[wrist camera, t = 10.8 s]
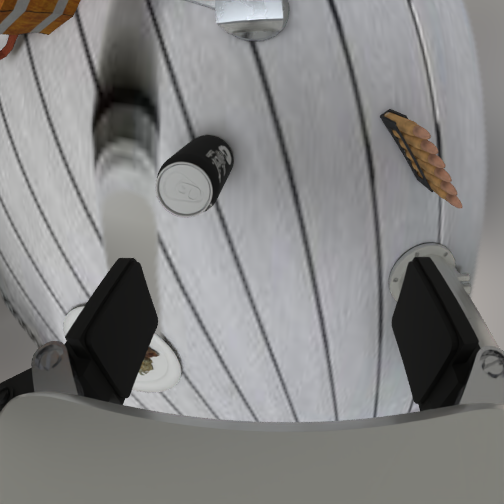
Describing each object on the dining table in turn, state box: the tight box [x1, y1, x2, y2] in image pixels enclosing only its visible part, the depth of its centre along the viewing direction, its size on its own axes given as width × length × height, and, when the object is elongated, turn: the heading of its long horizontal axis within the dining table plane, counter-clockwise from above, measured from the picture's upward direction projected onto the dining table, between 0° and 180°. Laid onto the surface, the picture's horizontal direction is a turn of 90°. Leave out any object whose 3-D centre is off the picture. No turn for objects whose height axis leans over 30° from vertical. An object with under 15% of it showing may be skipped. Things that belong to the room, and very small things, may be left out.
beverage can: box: [156, 135, 233, 218], centre depth 33 cm, size 7×7×12 cm
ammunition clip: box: [380, 109, 462, 208], centre depth 30 cm, size 11×2×12 cm, turn 41°
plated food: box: [63, 306, 181, 393], centre depth 61 cm, size 30×30×3 cm
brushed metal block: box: [215, 0, 283, 34], centre depth 22 cm, size 6×6×7 cm
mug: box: [0, 0, 80, 60], centre depth 19 cm, size 20×14×15 cm
